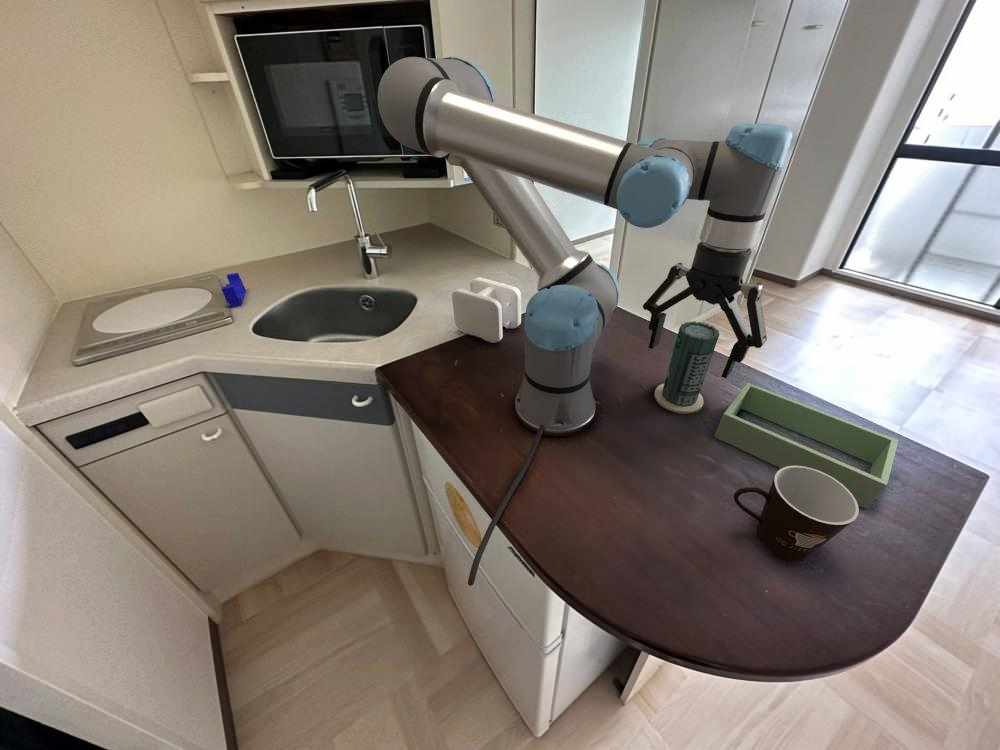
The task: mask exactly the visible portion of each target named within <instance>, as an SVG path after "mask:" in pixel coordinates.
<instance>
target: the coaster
mask: <svg viewBox="0 0 1000 750" xmlns="http://www.w3.org/2000/svg"><path fill="white" fill-rule="evenodd" d="M663 387H664V383H661V384H659V385H658V386H657V387H655V390H654V393H653V394H654V395H653V397H654V399H655V401H656V402H657V404H658V405H660V406H661V407H662V408H664V410H665V409H666V410H668V411H670V412H672V413H677V414H680V415H681V414H682V415H690V414H695V413H697V412H699V411H700V410H701V409H702V408H703V406H704V403H705V402H704V397H703V396H702V394H701V393H700V392H699V395H698V398H697V400H696V402H695V404H693V405H692V406H685V407H682V406H677V405H674V404H671V403H670V402H669V401H666V399H665V398H664V397H663V395H662V391H663Z"/></svg>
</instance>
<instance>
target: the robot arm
mask: <svg viewBox="0 0 1000 750" xmlns="http://www.w3.org/2000/svg"><path fill="white" fill-rule="evenodd" d="M384 71H385V72H383V75H382V77H381V79H380V82H379V85H378V88H377V107H378V112H379V116H380V118H381V121H382V124H383V125H384V127H385V129H386V130H387V131H388V133H389V134H390V135H391V136H392V137H393V139H394V140H396V141H397V142H398V143H400V144H401V145H403V146H405V147H406V148H409V149H412V150H414V151H416V152H420V153H423V154H427V155H429V156H432V157H435V158H444V159H445V160H446V162H447V163H448V164H449V165H450V166H454V167H461V168H462V169H463V170H464V172H465V173H466V175H467V176H468V179H470V180H471V182H472V183H473V185H474V186H475V188H476V190H478V192H479V194H480V195H481V196H482V198H483V199H484V201H485V202H486V204H487V205H488V207H489V208H490V209H491V211H492V212H493V214H494V215H495V217H496V219H497V220H498V221H499V223H500V224H501V225H502V227H503V229H504V230H505V231H506V233H507V234H508V236H509V237H510V239H511V240H512V241H513V242H514V245H516V247H517V249H518V250H519V251H520V253H521V254H522V256H523V257H524V259H525V260H526V261H527V263H528V264H529V266H530V267H531V269H532V271H533V272H534V273H535V275H536V276H537V278H538V279H537V286H536V290H537V292H536V293H534V295H532V296H531V298H530V299H529V300H528V302H527V304H526V307H525V314H524V320H523V328H524V376H523V378H522V382H521V384H520V385H519V389H518V391H517V394H516V396H515V400H514V407H515V408H514V410H515V415H516V417H517V419H518V421H519V422H520V424H522V425H523V426H524V428H526V429H528V430H530V431H531V432H533V433H535V437H534V439H533V442H532V444H531V447H530V448H529V452H528V454H527V456H526V459H525V461H524V463H523V464H522V467H521V469H520V470H519V472H518V474H517V475H516V477H515V479H514V480H513V481H512V483H511V485H510V487H509V488H508V490H507V492H506V493H505V496H504V497H503V498H502V500H501V503H500V504H499V505H498V508H497V509H496V511H495V513H494V515H493V517H492V519H491V520H490V523H489V524H488V526H487V529H486V531H485V533H484V535H483V537H482V540H481V541H480V543H479V546H478V548H477V551H476V553H475V554H474V555H475V556H474V559H473V561H472V564H471V568H470V571H469V574H468V575H469V576H468V578H467V585H468V586H469V587H472V586H473V585H474V584H475V581H476V578H477V573H478V569H479V566H480V563H481V561H482V557H483V555H484V552H485V550H486V548H487V545H488V544H489V541H490V538H491V537H492V534H493V532H494V530H495V528H496V526H497V524H498V522H499V520H500V518H501V516H502V515H503V513H504V510H505V509H506V507H507V505H508V504H509V502H510V500H511V498H512V496H513V494H514V493H515V491H516V489H517V488H518V486H519V484H520V483H521V481H522V479H523V478H524V476H525V474H526V473H527V470H528V469H529V466H530V465H531V462H532V460H533V458H534V455H535V452H536V450H537V447H538V445H539V443H540V440H541V438H542V436H545V437H551V438H565V437H570V436H574V435H577V434H580V433H582V432H583V431H585V430H586V429H587V428H589V427H590V425H591V424H592V423H593V421H594V419H595V414H596V400H595V398H594V394H593V391H592V386H591V382H590V375H591V367H592V360H593V354H594V349H595V346H596V344H597V342H598V340H599V339H600V336H601V335H602V334H603V332H604V330H605V329H606V327H607V325H608V323H609V321H611V319H612V318H613V316H614V315H615V313H616V312H617V308H618V305H619V301H620V294H621V290H620V285H619V281H618V279H617V277H616V275H615V274H614V273H613V272H612V270H611V269H609V268H608V267H607V266H605V265H603V264H598V263H596V262H595V260H594V258H593V257H592V256H591V254H590V252H589V251H586V250H585V251H584V250H579V249H577V248H576V247H575V245H574V243H573V242H572V241H571V239H570V237H569V236H568V235H567V233H566V231H565V230H564V228H563V227H562V225H561V223H559V222H560V221H558V219H557V218H556V216H555V215H554V213H553V211H552V210H551V208H550V207H549V206H548V204H547V203H546V201H545V199H544V198H543V197H542V195H541V193H540V192H539V191H538V189H537V188H536V186H535V185H534V183H537V184H541V185H543V186H547V187H550V188H552V189H555V190H558V191H561V192H563V193H567V194H570V195H572V196H576V197H579V198H581V199H586V200H588V201H591V202H594V203H597V204H600V205H603V206H606V207H609V208H611V209H614V210H618V212H619V214H620V215H621V216H622V218H623V219H624V220H625V221H626V222H628V223H629V224H630V225H632V226H634V227H637V228H641V229H651V228H655V227H658V226H661V225H663V224H664V223H666V222H668V221H669V220H670V219H672V217H674V215H676V214H677V213H678V212H679V211H680V209H681V208H682V206H684V205H685V203H686V201H687V200H692V201H702V202H703V201H708V202H709V204H708V207H707V211H706V214H705V218H704V221H703V224H702V227H701V232H700V235H699V240H700V242H699V243H698V244H697V245H696V249H695V253H694V256H693V259H692V263H691V267H690V268H689V267H686V266H684V264H683V262H678V263H675V264H674V265H673V266H671V267H670V269H669V271H668V274H667V277H666V278H665V279H664V280H663V282H662V283H661V284H660V285H659V286H658V287H657V288H656V290H654V292H653V293H652V294H651V295H650V296H649V298H647V300H646V301H645V302H644V303H643V305H642V309H643V310H645V311H649V313H650V319H649V324H648V330H649V331H651V336H650V340H649V344H648V347H647V348H648V349H651V350H653V349H654V348H655V347H657V345H659V344H660V340H661V336H662V332H663V329H664V326H665V321H666V317H667V313H666V312H665V311H667V310H669V309H670V308H671V307H673V306H675V305H677V304H678V303H680V302H681V301H683V300H685V299H687V298H689V297H690V296H691V295H693V297H694V299H695V300H697V301H699V302H706V303H708V304H710V305H713V306H714V305H719V308H720V309H721V311H722V312H724V314H725V317H726V318H727V320H728V322H729V325H730V327H731V329H732V331H733V333H734V335H735V337H736V339H737V341H736V342H735V343H734V344H733V346H732V348H731V351H730V354H729V356H728V359H727V361H726V364H725V366H724V369H723V371H722V373H721V375H720V377H721V378H723V379H727V378H728V376H729V375H730V374H731V373H732V371H733V369H734V367H735V364H736V363H740V364H741V363H742V362H743V361H744V360H745V358H746V357H747V354H748V351H749V350H750V347H751V348H756V349H761V348H762V347H763V346H764V345H765V343H766V342H767V341H768V337H767V330H766V325H765V324H766V323H765V317H764V311H763V304H762V298H761V297H762V294H763V290H764V285H763V283H761V282H756V283H755V284H753V283H746V282H744V280H743V278H744V274H745V272H746V269H747V266H748V263H749V261H750V259H751V255H752V253H753V251H752V249H751V248H752V247H754V246H755V244H756V241H757V239H758V236H759V233H760V232H761V231H760V230H761V227H762V226H763V222H764V220H765V216H766V213H767V211H768V208H769V207H770V203H771V200H772V198H773V194H774V193H775V190H776V187H777V185H778V182H779V180H780V177H781V175H782V173H783V170H784V168H785V167H784V165H785V162H786V159H787V156H788V153H789V150H790V146H791V143H792V140H793V135H794V133H793V132H792V130H791V129H790V127H789V126H786V125H784V124H783V125H782V124H776V123H740V124H739V123H738V124H735V125H733V126H732V127H731V128H730V130H729V132H728V135H727V136H726V138H725V140H719V141H718V140H716V141H710V140H709V141H706V140H688V139H668V138H667V139H666V138H665V137H660V138H652V139H651V138H649V139H648V138H647V139H646V138H643V139H641V140H639V141H638V142H637V143H632V142H629V141H627V140H624V139H621V138H617V137H614V136H611V135H607V134H603V133H600V132H596V131H593V130H591V129H586V128H582V127H579V126H576V125H573V124H569V123H566V122H562V121H559V120H555V119H553V118H549V117H545V116H541V115H539V114H535V113H532V112H528V111H526V110H521V109H519V108H514V107H511V106H508V105H504V104H502V103H501V104H500V103H497V102H495V99H496V98H495V93H494V89H493V85H492V83H491V81H490V79H489V78H488V76H487V75H486V74H485V72H484V71H483V70H482V69H481V68H480V67H479V66H478V65H476V64H475V63H473V62H471V61H469V60H465V59H463V58H459V57H457V56H456V57H455V56H449V57H448V56H447V57H442V58H436V57H435V58H432V57H418V56H408V57H403V58H401V59H398V60H396V61H395V62H393V63H392V64H390V66H388V68H387V69H386V70H384ZM683 277H685V279H686V282H687V284H688V286H687V288H684V289H683V290H681V291H679V292H678V293H677V294H675V295H673V296H671V297H670V298H669V299H667V300H666V301H664V302H662V303H661V304H659V305H658V304H657V302H658V301H659V300H660V299H661V298H662V297H663V296H664V295H665V294H666V293H667V291H669V289H671V287H672V286H673V285H674V284H675V283H676V282H677V281H678V280H681V279H682V278H683ZM739 292H741V293H742V294H743V298H744V299H746V309H747V310H746V311H747V315H748V321H749V325H748V323H747V321H746V319H745V316H744V315H743V312H742V311H741V309H740V306H739V304H738V298H737V297H736V294H737V293H739Z"/></svg>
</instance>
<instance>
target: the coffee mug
mask: <svg viewBox="0 0 1000 750" xmlns="http://www.w3.org/2000/svg"><path fill="white" fill-rule="evenodd" d="M746 493H747V494H748V493H755V494H758V495H761V496H762V497H763V498H764V499H765V502H764V505H763V508H762V511H761V513H760V515H758V514H757V513H755V512H754V511H752V510H751V509H749V508H748V507H746V506H745V505H744V504H743V503H742V502H741V501H740V499H739V497H740V496H741V495H743V494H746ZM733 500H734V503H735V504H736V506H738V508H739V509H741V511H743V512H745V513H746V514H747V515H749V516H750V517H752V518H754V520H756V521H757V522H758V523H757V525H756V534H757V537H758V539H759V541H760V542H761V543H762V544H763V546H764V547H765V548H766V549H767V550H769V551H770V552H771V553H772V554H774V555H776V557H779V558H782V559H784V560H786V561H790V562H791V561H792V562H800V561H805V560H806V559H807V558H809V557H810V556H811V555H813V554H814V553H815V552H817V551H818V550H819V549H820V548H821V547H823V546H824V545H825V544H827V543H828V542H829V541H830V540H832V539H833V538H834V537H835V536H836V535H838V534H839V533H840V532H841V531H843V530H844V529H845V528H847V527H848V526H849V525H851V523H852V524H853V522H854V521H855V520H856V519H857V518H858V516H859V513H860V508H859V507H860V506H859V505H858V504H857V501H856V499H855V498H854V496H853V495H852V493H851V492H850V491H849V490H848V489H847V488H846V487H845V486H844V485H843V484H842V483H840V482H839V481H837V480H836V479H834V478H833V477H831V476H829V475H828V474H825V473H823V472H821V471H819V470H816V469H813V468H809V467H805V466H787V467H784V468H779V469H778V470H777V471H776V473H775V475H774V477H773V480H772V483H771V485H770V488H769V491H768V492H767V491H765V490H764V489H762V488H760V487H753V486H752V487H749V486H747V487H742V488H739V489H737V490H736V491H735V492H734V493H733Z"/></svg>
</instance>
